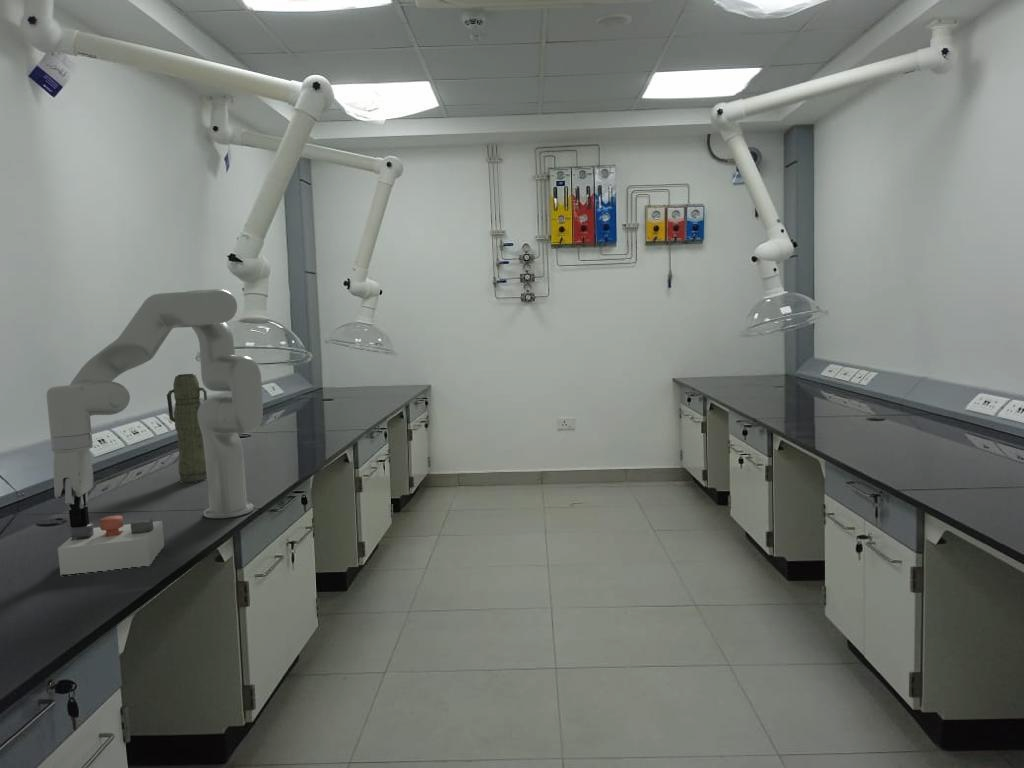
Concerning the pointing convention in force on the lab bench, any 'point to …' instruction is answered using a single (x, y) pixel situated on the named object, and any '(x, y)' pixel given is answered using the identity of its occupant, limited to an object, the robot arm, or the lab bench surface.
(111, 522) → the red knob
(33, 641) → the lab bench surface
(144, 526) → the grey knob
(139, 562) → the control box
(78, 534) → the grey knob
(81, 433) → the robot arm
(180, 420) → the thermos
